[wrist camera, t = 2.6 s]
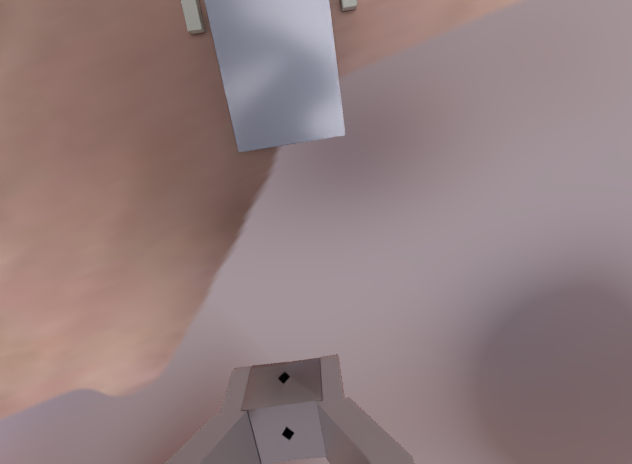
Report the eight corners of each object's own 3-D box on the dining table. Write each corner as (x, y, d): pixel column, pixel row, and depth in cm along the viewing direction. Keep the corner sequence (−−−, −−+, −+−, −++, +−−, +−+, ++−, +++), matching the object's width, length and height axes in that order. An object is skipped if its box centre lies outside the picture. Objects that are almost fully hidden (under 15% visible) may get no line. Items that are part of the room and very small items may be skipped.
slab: (214, 9, 26) (203, -4, 23) (323, -10, 25) (325, -25, 22) (245, 148, 29) (238, 152, 26) (341, 132, 29) (345, 135, 26)
